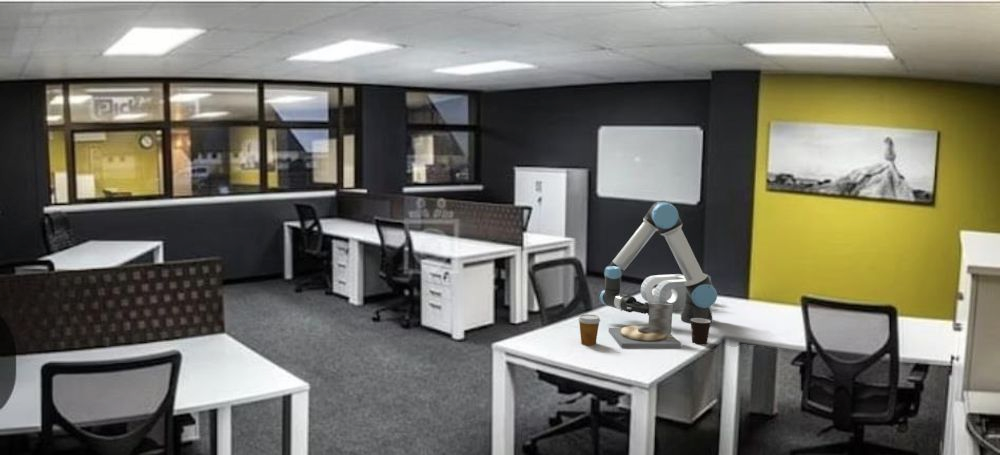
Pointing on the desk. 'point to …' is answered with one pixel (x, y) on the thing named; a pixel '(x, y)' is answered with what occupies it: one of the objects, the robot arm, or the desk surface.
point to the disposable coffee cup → (588, 328)
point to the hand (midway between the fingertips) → (662, 313)
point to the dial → (652, 324)
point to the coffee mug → (700, 330)
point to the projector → (665, 290)
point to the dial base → (631, 343)
